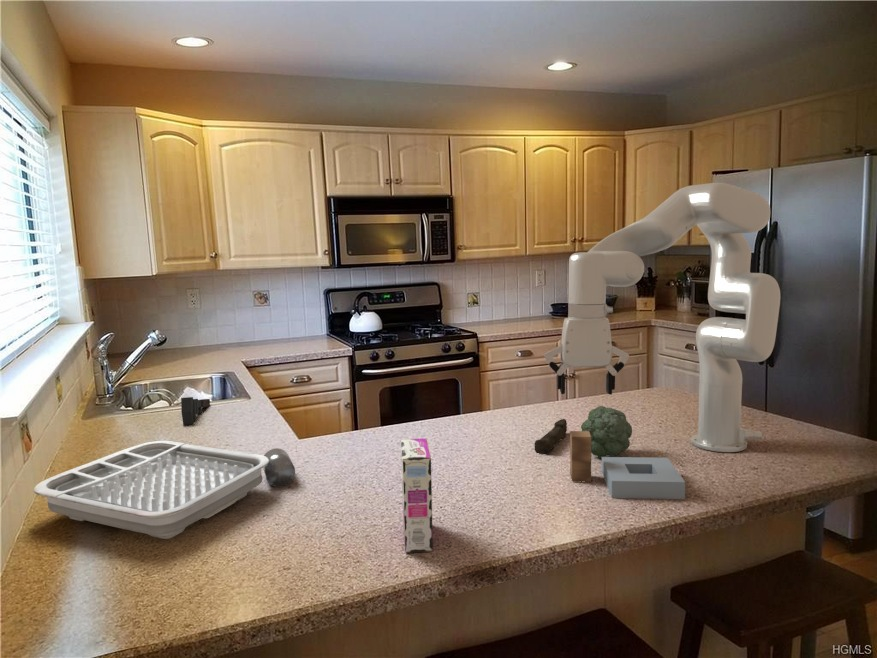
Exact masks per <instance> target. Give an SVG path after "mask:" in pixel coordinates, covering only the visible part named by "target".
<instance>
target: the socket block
mask: <svg viewBox="0 0 877 658" xmlns="http://www.w3.org/2000/svg"><path fill="white" fill-rule="evenodd" d="M601 475H602V477H603V476H604V477H603V479H605V480H604V482H605V485H606V484H607V485H606V487H607V489H609V490H608V492H609V495H610V497H611V498H613V497H614V498H615V499H652V500H653V499H655V500H656V499H658V500H686V481H685V480H684V478H683V477H682V476H681V474H680V473H679V472H678V470H677V469H676V467H675V466H674V464H673V462H672V461H671V460H670V459H669V458H668V457H646V456H645V457H640V456H639V457H638V456H636V457H631V456H629V457H627V456H625V457H624V456H623V457H622V456H606V457H602V458H601ZM614 498H613V499H614Z"/></svg>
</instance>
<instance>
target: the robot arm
mask: <svg viewBox="0 0 877 658" xmlns="http://www.w3.org/2000/svg"><path fill="white" fill-rule="evenodd" d="M770 218H771V207H770V204H769V202H768V200H767V199H766V198H765V197H764V196H763V195H761V194H760V193H756V192H754V191H752V190H748V189H745V188H743V187H739V186H736V185H734V184H729V183H727V182H726V183H725V182H711V183H710V182H709V183H702V184H693V185H686V186H685V187H682V188H679V189H678V190H676V191H675V192H673V193H672V194H671V195H670V196H668V198H667V199H665V200H664V201H663V202H662V203H661V204H659V205H658V206H657V207H656V208H655V209H653V210H652V211H650V213H649V214H647V215H646V216H645V217H643V218H641V219H639V220H637V221H635V222H633V223H631V224H629V225H626V226H625V227H622V228H621V229H619V230H617V231H614V232H612V233H611V234H609V235H608V236H606V237H604V238H602V239H601V240H600V241H599V242H598V243H596V244H595V245H594V246H593V247H591V249H589V250H588V251H587V252H586V251H585V252H584V251H583V252H581V251H580V252H575V253H572V254H571V255H570V256H569V257H568V258H569V260H568V303H567V304H568V308H567V309H568V310H567V311H568V312H567V313H568V314H567V317H565V318H563V319H564V320H563V324H562V329H561V330H562V331H561V339H560V340H561V343H560V345H558V346H556V347H554V348H552V349H551V350H549V351H546V352H545V353H543V356H544V358H545V360H546V362H547V364H548V365H549V368H550V369H551V370H552V371H553V372H554V373H556V375H557V377H556V379H557V381H556V386H557V387H556V388H557V390H559V392H560V395H565V394H566V375H565V372H566V371H567V370H568V368H569V367H572V368H574V367H575V368H578V367H579V368H580V367H581V368H582V367H583V368H599V367H601V368H602V367H603V368H606V370H607V373H606V375H605V377H606V378H605V380H606V381H605V391H606V393H607V394H608V395H612V394H613V391H614V390H616V376H617V375H618V373H619V372H620V371H621V370H622V369H623V368H624V367H625V365H626V363H627V361H628V360H629V358H630V354H629V353H627V352H625V351H624V350H621V349H620V348H617V347H616V346H614V345H612V334H611V333H612V332H611V324H610V320H609V318H607V315H608V314H613V313H614V308H613V307H614V306H609V305H608V304H607V303H606V301H607V300H606V299H607V298H606V297H607V287H609V286H610V287H618V288H619V287H620V288H622V287H623V288H625V287H630V286H634V285H636V284H637V283H638V282H639V281H640V280H641V279H642V277H643V276H644V273H645V264H644V261H643V259H642V258H641V257H643V256H648V255H652V254H656V253H660V251H665V250H667V249H668V248H671V247H672V246H673V245H674V244H676V243H677V242H678V241H679V240H680V239H681V238H682V237H684V236H685V235H686V234H687V233H688V232H689V231H690V230H691V229H692V228H694V227H695V226H697V228H698V229H699V230H700V231H701V233H702V234H703V235H704V236H705V239H707V242H708V244H709V246H710V249H711V250H710V251H711V264H710V273H709V281H708V289H707V300H708V304H709V306H710V307H711V308H712V309H713V310H717V311H719V312H724V313H735V314H744V315H745V319H743V318H736V317H735V318H733V317H723V316H715V317H714V316H713V317H710V318H706V319H705V320H703V321H702V322H701V323H700V324H699V325H698V327H697V329H696V332H695V344H696V348H697V352H698V353H697V355H698V361H699V362H698V364H699V365H698V366H699V376H698V377H699V378H698V379H699V382H698V383H699V384H698V412H697V413H698V419H697V420H698V423H697V433H696V434H695V433H694V434H693V435H691V438H690V442H691V444H692V445H693V446H695V447H696V448H699V449H702V450H706V451H712V452H718V453H735V452H736V453H737V452H741V451H745V450H746V449H747V448H748V441H749V439H753V440H762V439H763V434H762V431H761V430H753V429H751V428H750V429H748V428H747V429H745V428H743V427H742V425H741V424H742V423H741V421H742V396H743V394H742V392H743V391H742V390H743V373H742V369H741V367H740V364H739V362H738V361H744V362H750V363H751V362H752V363H753V362H754V363H760V362H764V361H766V360H767V359H768V358H769V357H770V356H771V355H772V352H773V350H774V348H775V342H776V338H777V337H776V336H777V329H778V323H779V313H780V306H781V289H780V286H779V283H778V281H777V280H776V279H775V278H774V277H773V276H771V275H770V274H766V273H762V272H751V265H752V264H751V260H752V250H751V246H750V245H749V242H748V241H747V239H746V238H745V236H744V235H743V234H751V233H757V232H759V231H761V230H762V229H764V228H765V227H766V226H767V224H768V223H769V221H770ZM613 354H614V355H616V356H618V357H619V359H618V361H617V362H616V363H615V364H614V365H612V362H613ZM557 355H560V359H561V362H560V364H556V362H554V361H555V360H554V359H553V358H554V357H555V356H557Z"/></svg>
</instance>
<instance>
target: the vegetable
mask: <svg viewBox="0 0 877 658" xmlns="http://www.w3.org/2000/svg"><path fill="white" fill-rule="evenodd" d="M581 423H582V424H581V425H580V429H581V431H589V433H590V435H591V455H594V456H596V457H598V458H599V459H602V457H616V456H619V453H623V452H626V451H627V450H628V449H629V447H630V443H631V442H630V439H631V437H632V436H633V435H632V434H633V427H632V425H631V423H630V422H628V420H627V416H626V414H625V413H624V412H623V411H622V410H619V409H616V408H615V409H614V408H612V407H606V406H603V405H600V406H598V405H597V406H596V408H594V409H591V410H590V411H589V412H588V416H587V419H586V420H584V421H583V422H581ZM613 455H614V456H613ZM615 455H616V456H615Z"/></svg>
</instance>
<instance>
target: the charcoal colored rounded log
mask: <svg viewBox="0 0 877 658" xmlns="http://www.w3.org/2000/svg"><path fill="white" fill-rule="evenodd" d="M567 425H568V423H567V420H566V418H561V419H559V420H557V421H556V422H555V423H554V425H553V427H552V428H551V430H549V431H548V432H547V433H545V434H544V435H543V436H542V437H541V438H539V439H536V440H535V442H534V451H535V453H536V454H537V453H539V455H543V454H546V455H549V454H550V453H551V450H552V449H553V448H554V446H555V445H557V444H558V443H560V441H562V440H561V439H564V438H566V437H567V431H568V430H567V429H568V426H567ZM564 440H565V439H564ZM546 455H545V456H546Z"/></svg>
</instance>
